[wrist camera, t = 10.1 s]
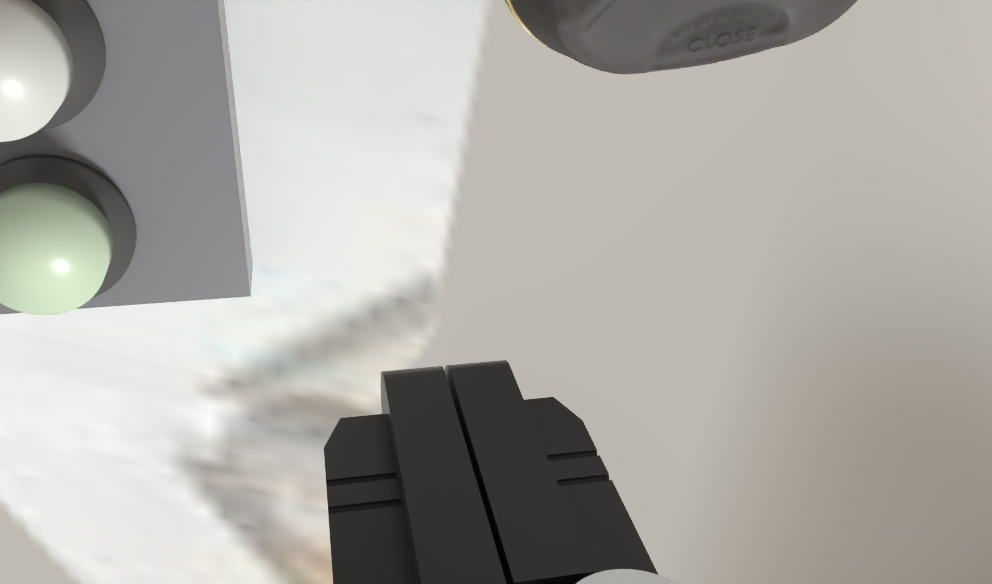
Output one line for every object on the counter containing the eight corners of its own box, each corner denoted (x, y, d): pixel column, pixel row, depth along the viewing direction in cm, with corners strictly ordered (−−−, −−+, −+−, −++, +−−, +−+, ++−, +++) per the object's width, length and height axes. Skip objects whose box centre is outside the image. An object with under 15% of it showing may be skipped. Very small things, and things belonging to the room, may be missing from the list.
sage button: (-35, 186, 33) (-49, 202, 31) (102, 179, 34) (94, 195, 32) (-6, 299, 35) (-17, 319, 34) (122, 290, 36) (116, 310, 34)
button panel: (-282, -317, 28) (-349, -331, 25) (191, -295, 31) (181, -305, 28) (-96, 287, 38) (-128, 329, 35) (252, 264, 41) (250, 301, 38)
